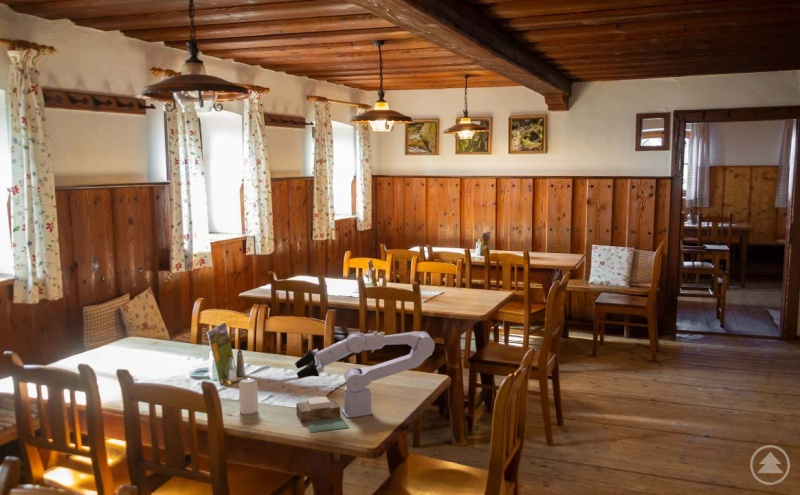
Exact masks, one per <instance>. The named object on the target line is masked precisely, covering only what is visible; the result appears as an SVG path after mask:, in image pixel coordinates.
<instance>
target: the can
mask: <svg viewBox="0 0 800 495" xmlns="http://www.w3.org/2000/svg"><path fill="white" fill-rule="evenodd" d="M238 389H239V390H238V394H239V395H238V398H239V412H240V414H242V415H246V416H247V415H253V414H256V413H257V412H258V411H259V401H258V400H259V399H258V398H259V396H258V395H259V394H258V391H259V390H258V382H257V379H256V378H255V377H253V376H252V377H243V378H241V379H240V380H239V383H238Z"/></svg>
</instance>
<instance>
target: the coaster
mask: <svg viewBox="0 0 800 495" xmlns="http://www.w3.org/2000/svg"><path fill="white" fill-rule="evenodd" d="M306 402H307V405H308V406H309V408H310V410H312V409H320V408H329V407H330V401H329V398H328V397H327V396H319V397H310V398H306Z"/></svg>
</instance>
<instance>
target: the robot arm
mask: <svg viewBox="0 0 800 495" xmlns="http://www.w3.org/2000/svg"><path fill="white" fill-rule="evenodd" d="M435 344H436V343H435V341H434V339H433V338H431V336H430V334H429V333H428V332H427V331H423V330H422V331H418V330H417V331H416V330H414V331H410V332H409V331H408V332H401V333H394V334H387V335H384V334H382V333H381V332H378V331H377V330H376V331H372V333H363V332H360V333H359V334H358V333H349V334H347V337H346V338H345V339H342V340H340V341H338V342H336V343H333V344H332V345H329V346H327V347H325V348H323V349H321V350H319V349H318V348H316V349H313V350H312V351H311V349H308V350H307V352H305V354H304V355H303V356H302V357H300V359H298V360H297V361H296V362H295V363H294V365H295V367H296V368H297V369H300V368H302V369H300V370H299V371H297V372H296V376H297V377H298V379H303V378H308V377H320V374H321V373H323V372H324V371H325V370H324V368H325V367H326V366H329V365H330V364H332V363H335V362H337V361H339V360H340V359H343V358H345V357H347V356H349V355H351V354H360V353H362V351H370V350H380V349H382V348H383V347H384V346H387V345H408V346H410V348H411V349H410V352H409V353H408V354H406V355H403V356H400V357H396V358H393V359H391V360H387V361H384V362H381V363H378V364H375V365H372V366H371V365H370V366H367V367H366V366H362V367H350V368H348V369H347V370H346V371H345V373H344V380H345V387H344V389H343V393H344V394H343V395H344V396H343V397H344V401H343V402H344V404H343V405H344V408H340V412H342V414H344V416H345V418H355V417H363V416H370V415H373V412H372V393H371V389H370V388H369V387H367V386H369V385H370V384H371V383H372V382H374V381H378V380H381V379H384V378H387V377H389V376H393V375H396V374H400V373H402V372H406V371H409V370H412V369H415V368H418V367H421V365H422V364H423V363H424V362H425V361H426V360H427V358H429V357H430V356H432V355H433V352H434V351H435V346H436V345H435Z"/></svg>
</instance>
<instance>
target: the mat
mask: <svg viewBox="0 0 800 495" xmlns="http://www.w3.org/2000/svg"><path fill="white" fill-rule="evenodd" d="M305 424H306V426H307V428H308V430H309V432H310V433H311V434H313V433H319V432H327V431H328V432H329V431H335V430H337V431H338V430H343V429H345V430H346V429H349V428H350V427H349V425H348V424H347V422H346V421H345V420H344V418H343V417H341V416H340V418H332V419H324V420H316V421H308V422H305Z"/></svg>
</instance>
